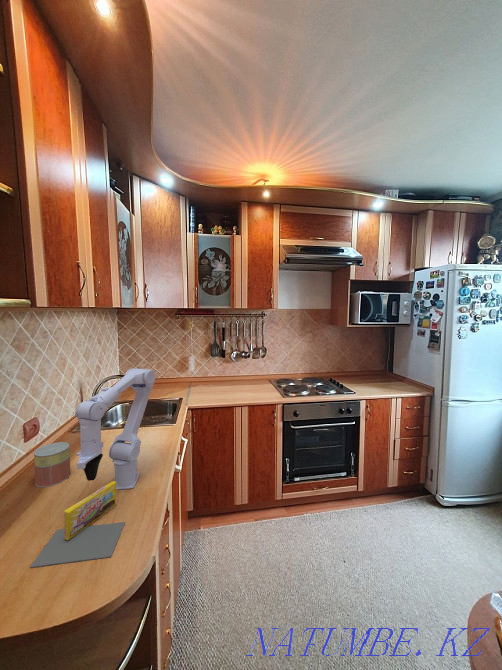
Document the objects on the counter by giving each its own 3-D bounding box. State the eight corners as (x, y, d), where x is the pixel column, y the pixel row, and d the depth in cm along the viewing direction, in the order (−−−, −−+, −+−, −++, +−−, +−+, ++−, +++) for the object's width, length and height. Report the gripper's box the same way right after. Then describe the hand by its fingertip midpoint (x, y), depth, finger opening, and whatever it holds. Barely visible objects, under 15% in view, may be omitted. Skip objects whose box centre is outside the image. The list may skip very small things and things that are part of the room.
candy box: (68, 541, 74) (67, 512, 74) (63, 539, 75) (62, 510, 74) (117, 505, 89) (116, 481, 89) (112, 504, 90) (112, 479, 89)
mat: (56, 530, 78) (56, 529, 78) (125, 522, 81) (125, 521, 81) (29, 568, 66) (29, 567, 66) (111, 557, 69) (111, 556, 69)
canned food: (61, 467, 112) (60, 439, 111) (76, 474, 107) (75, 445, 106) (29, 481, 102) (27, 451, 101) (44, 490, 97) (42, 458, 96)
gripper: (87, 430, 92) (88, 468, 93) (65, 449, 78) (66, 494, 78) (109, 428, 93) (109, 466, 94) (91, 447, 79) (92, 492, 80)
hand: (91, 479), depth 86 cm, fingers closed
